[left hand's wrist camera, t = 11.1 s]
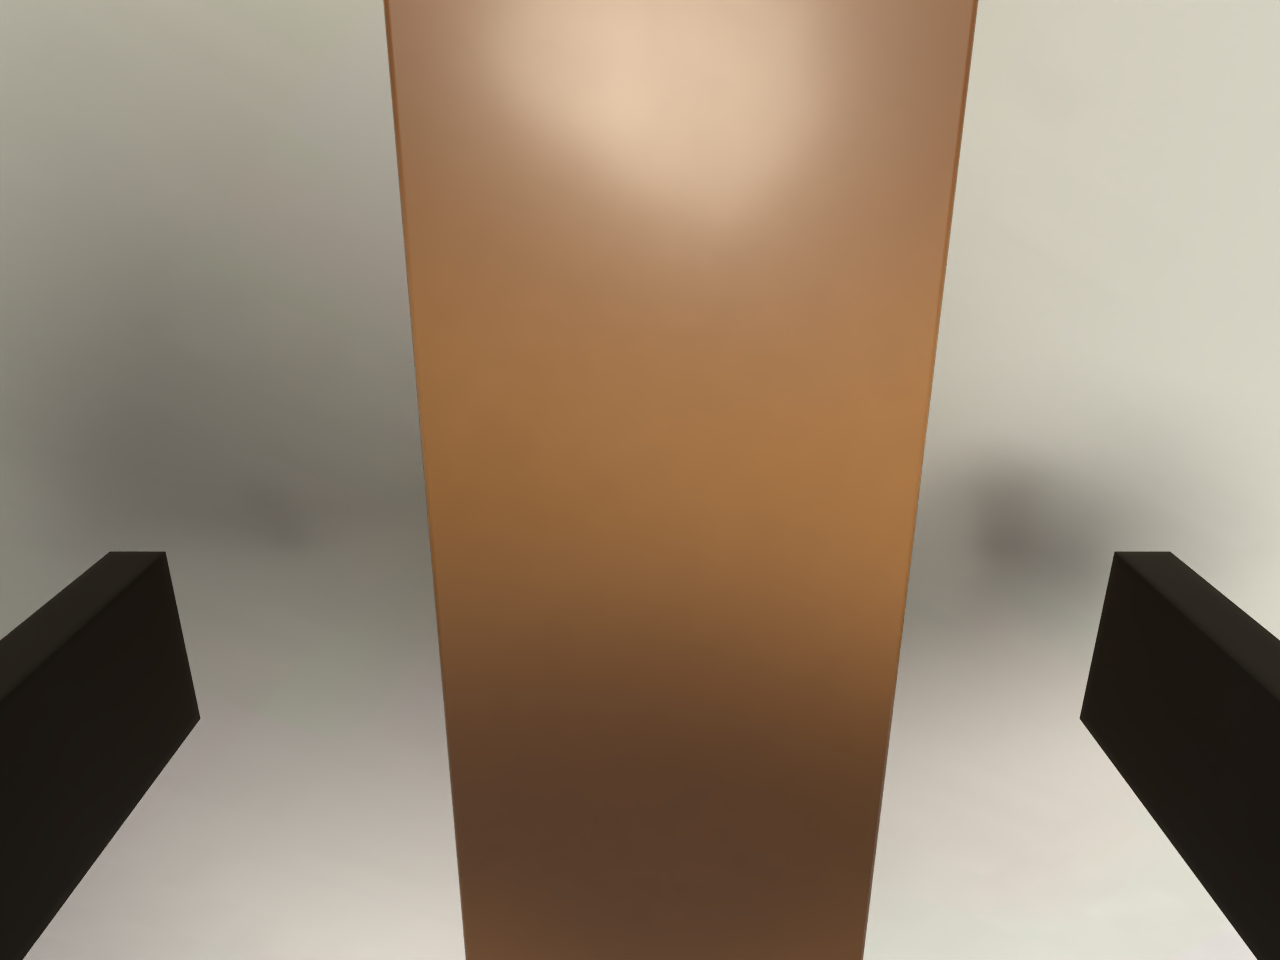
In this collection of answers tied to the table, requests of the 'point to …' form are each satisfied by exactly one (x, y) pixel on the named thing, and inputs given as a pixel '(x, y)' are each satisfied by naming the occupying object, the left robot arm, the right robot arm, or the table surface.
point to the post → (673, 448)
